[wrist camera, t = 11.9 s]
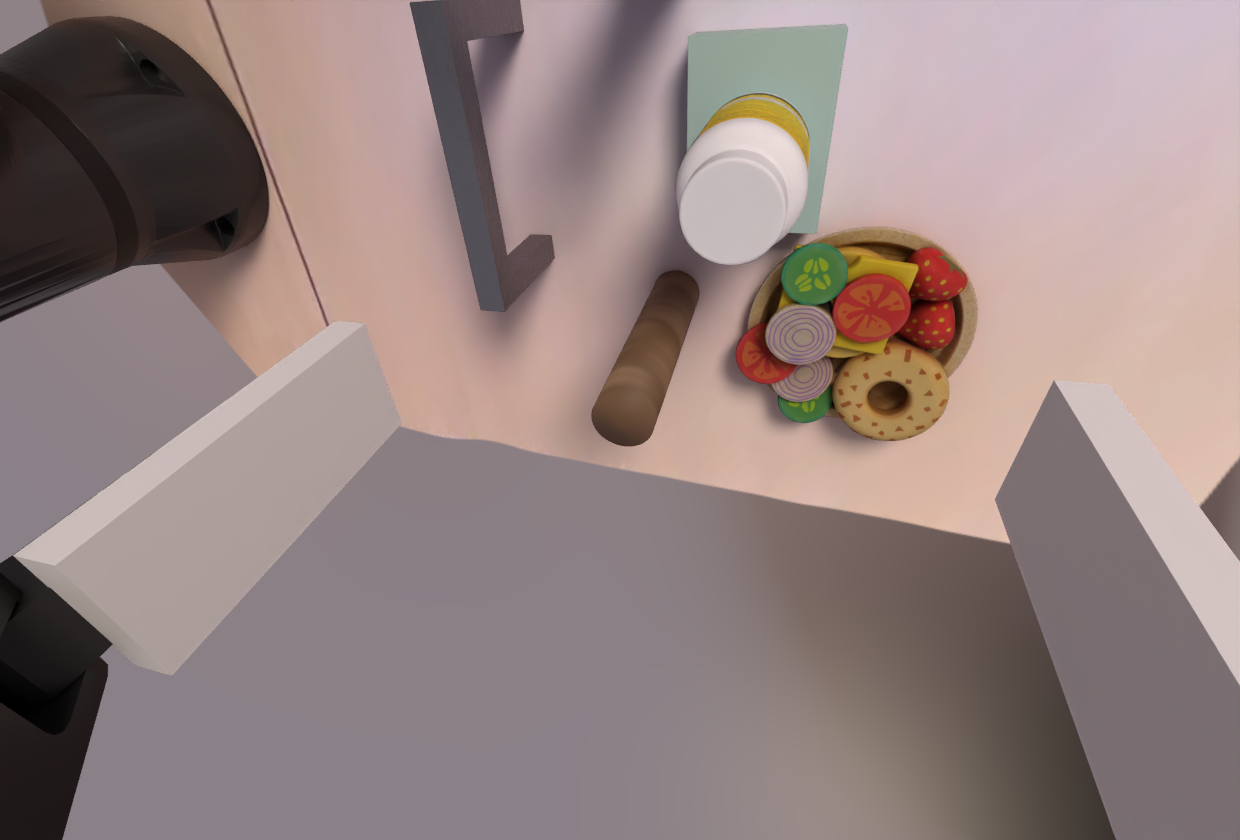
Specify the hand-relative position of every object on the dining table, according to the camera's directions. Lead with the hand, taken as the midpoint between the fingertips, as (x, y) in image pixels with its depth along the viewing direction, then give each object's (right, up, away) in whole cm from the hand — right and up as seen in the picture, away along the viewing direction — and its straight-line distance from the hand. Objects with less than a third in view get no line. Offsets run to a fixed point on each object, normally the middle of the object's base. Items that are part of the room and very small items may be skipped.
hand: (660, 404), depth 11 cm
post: (+3, +8, +25) cm, 27 cm away
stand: (+7, +15, +19) cm, 25 cm away
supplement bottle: (+6, +13, +17) cm, 22 cm away
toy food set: (+14, +6, +24) cm, 28 cm away
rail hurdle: (-6, +16, +22) cm, 28 cm away
